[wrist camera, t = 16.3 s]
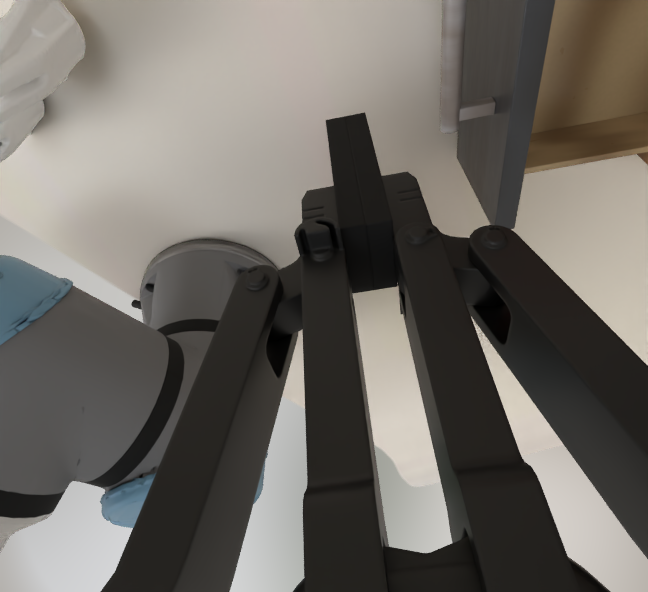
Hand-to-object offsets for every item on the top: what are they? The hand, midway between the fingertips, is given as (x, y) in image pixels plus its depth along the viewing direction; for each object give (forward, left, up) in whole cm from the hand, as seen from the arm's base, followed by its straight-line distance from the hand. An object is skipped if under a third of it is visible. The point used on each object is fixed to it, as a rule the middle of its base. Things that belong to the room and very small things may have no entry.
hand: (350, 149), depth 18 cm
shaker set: (-20, +1, -18) cm, 27 cm away
